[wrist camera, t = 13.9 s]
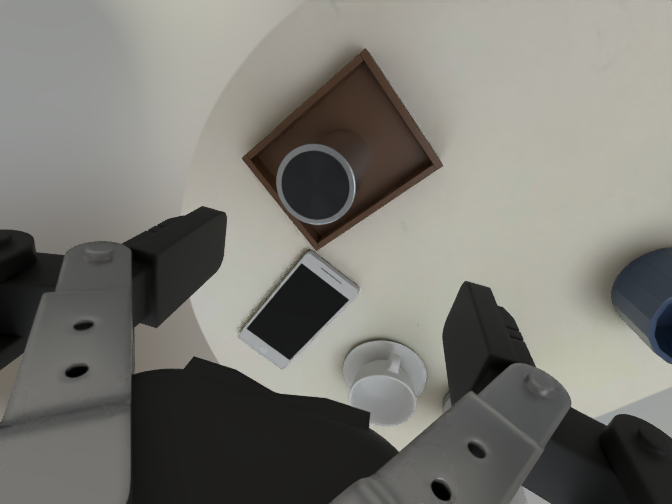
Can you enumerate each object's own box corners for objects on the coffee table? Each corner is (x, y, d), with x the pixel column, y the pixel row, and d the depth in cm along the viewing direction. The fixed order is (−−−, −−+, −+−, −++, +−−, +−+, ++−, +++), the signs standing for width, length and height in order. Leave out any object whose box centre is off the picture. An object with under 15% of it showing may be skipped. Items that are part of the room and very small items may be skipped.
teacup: (410, 412, 46) (410, 445, 41) (335, 388, 46) (328, 417, 42) (439, 353, 41) (442, 382, 37) (355, 327, 42) (350, 353, 38)
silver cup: (319, 122, 33) (281, 135, 23) (377, 136, 32) (364, 155, 22) (308, 180, 35) (270, 214, 25) (362, 193, 35) (345, 234, 25)
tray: (368, 51, 31) (365, 47, 28) (440, 160, 33) (443, 165, 30) (252, 153, 36) (241, 158, 33) (322, 240, 38) (316, 251, 36)
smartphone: (239, 332, 45) (235, 337, 44) (309, 248, 39) (307, 251, 38) (284, 365, 46) (282, 371, 45) (361, 288, 40) (360, 292, 39)
